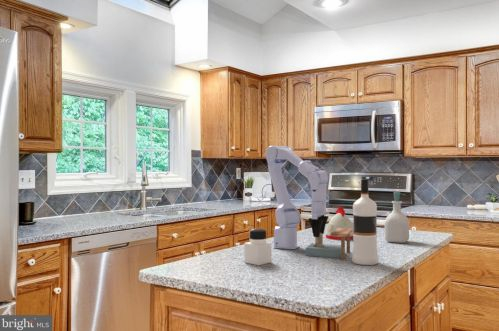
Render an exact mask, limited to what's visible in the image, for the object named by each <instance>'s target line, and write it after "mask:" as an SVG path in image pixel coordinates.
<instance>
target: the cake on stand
mask: <svg viewBox="0 0 499 331" xmlns="http://www.w3.org/2000/svg"><path fill="white" fill-rule="evenodd" d="M336 209H337V210H335V213H336V214H335V215H333V216H332V217H331V218H330V220H329V222H328V223H327V222H326V230H325V238H326V239H328V240H335V241H341V236H330V233H331V232H333V231H334V230H335V229H337V228H347V229H352V232H351V233H350V241H352V240H353V234H354V222H352V221H351V220H350V218H349V216H347V215H346V213H345V212H346V210H345V208H344V207H342V206H338V208H336ZM345 241H347V237H345Z"/></svg>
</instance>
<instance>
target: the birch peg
mask: <svg viewBox="0 0 499 331" xmlns="http://www.w3.org/2000/svg"><path fill="white" fill-rule="evenodd" d="M323 235H324V234H323V233H320V236H319V237H314V243H315V247H323V244H324V241H323V240H324V239H323V238H324V236H323Z"/></svg>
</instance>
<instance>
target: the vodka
mask: <svg viewBox="0 0 499 331" xmlns="http://www.w3.org/2000/svg"><path fill="white" fill-rule="evenodd" d="M377 210H378V204H377V203H376V202H375V201H374V200H373V199H372V198H370V197H369V179H366V178H361V179H360V198H358V199H357V200H355V201H354V202H353V204H352V215H353V218H352V219H353V223H354V234H353V239H352V240H353V243H352V245H353V247H352V255H351V262H352V263H354V264H355V265H359V266H376V265H377V264H378V263H379V262H380V261H379V254H378V253H379V252H378V245H377V244H378V242H377V241H378V240H377V239H378V235H377V232H378V231H377V228H378V227H377V223H378V222H377V218H378V217H377V215H378V213H377V212H378V211H377Z"/></svg>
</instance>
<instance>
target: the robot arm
mask: <svg viewBox="0 0 499 331" xmlns="http://www.w3.org/2000/svg"><path fill="white" fill-rule="evenodd" d="M264 156H265V158H266V162H267V168H268V173H269V177H270V179H271V184H272V186H273V191H274V194H275V199H276V200H277V205H278V206H277V208H276V209H275V210H274V212H275V221H276V224H277V226H275V227H274V231H273V249H282V250H283V249H286V250H297V248H299V247H300V246H301V245H299V244H298V226H299V224H301V220H302V215H301V213H300V212H299V210H298V208H297V206H296V205H295V204H293V203H292V201H291V198H290V195H289V191H288V188H287V184H286V181H285V178H284V174H283V171H282V168H283V167H284V166H285V165H286V163H287V162H290V163H291V164H293V165H294V166H295V167H297V170H298V172H299V173H300V174H301V175H303V177H305V178H306V179H307V180H308V183H309V185H310V190H311V212H310V214H311V217H309V218H307V219H308V222H309V224H310V228H311V230H312V236H313V238H315V237H319V236H320V233H323V235H324V234H325V231H326V230H325V229H326V226H327V222H328V219H329V218H330V217H329V215H330V212H328V211H327V184H328V183H329V181H330V176H329V173H328V172H327V170H324V169H322V170H321V169H320V167H318V166H315V165H314V164H313V163H312V161H311V160H307V159H306V160H303V159H302V158H301V157H300V156H298V154H296V153H295V152H294V151H293V149H292V148H290V147H289V146H288V145H283V146H282V145H269V146H268V147H267V148H266V152H265V153H264Z"/></svg>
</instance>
